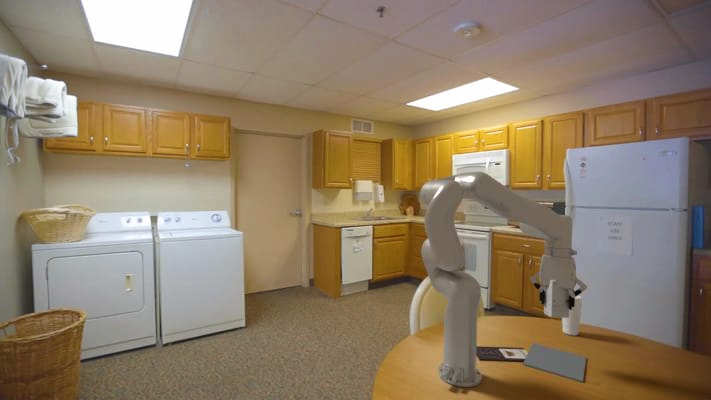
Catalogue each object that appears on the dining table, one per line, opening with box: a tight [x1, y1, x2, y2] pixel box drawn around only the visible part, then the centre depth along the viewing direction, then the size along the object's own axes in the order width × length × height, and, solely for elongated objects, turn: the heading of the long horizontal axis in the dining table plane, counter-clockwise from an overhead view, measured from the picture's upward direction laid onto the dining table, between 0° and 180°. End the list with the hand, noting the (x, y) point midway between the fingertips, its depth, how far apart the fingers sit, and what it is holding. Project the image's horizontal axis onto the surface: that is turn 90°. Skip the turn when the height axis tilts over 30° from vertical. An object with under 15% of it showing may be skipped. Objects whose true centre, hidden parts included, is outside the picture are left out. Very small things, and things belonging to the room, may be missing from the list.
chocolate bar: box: [476, 345, 528, 363], centre depth 113 cm, size 9×1×18 cm
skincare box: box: [543, 280, 570, 319], centre depth 108 cm, size 6×4×12 cm
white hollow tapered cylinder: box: [561, 295, 583, 337], centre depth 130 cm, size 7×7×15 cm
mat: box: [522, 342, 587, 383], centre depth 108 cm, size 18×16×1 cm
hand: (556, 305), depth 108 cm, fingers closed on skincare box, 7 cm apart
